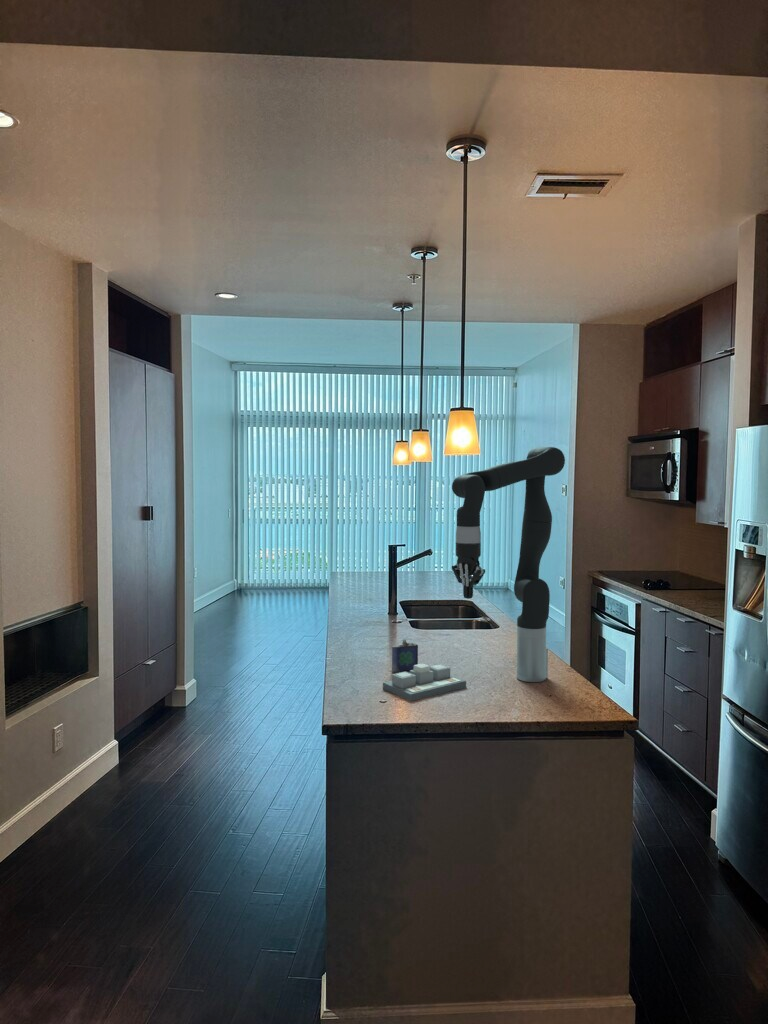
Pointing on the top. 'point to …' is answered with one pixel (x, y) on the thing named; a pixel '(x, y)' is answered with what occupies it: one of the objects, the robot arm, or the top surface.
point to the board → (424, 684)
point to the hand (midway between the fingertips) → (468, 598)
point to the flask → (404, 657)
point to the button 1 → (403, 675)
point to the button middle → (421, 668)
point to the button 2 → (438, 667)
